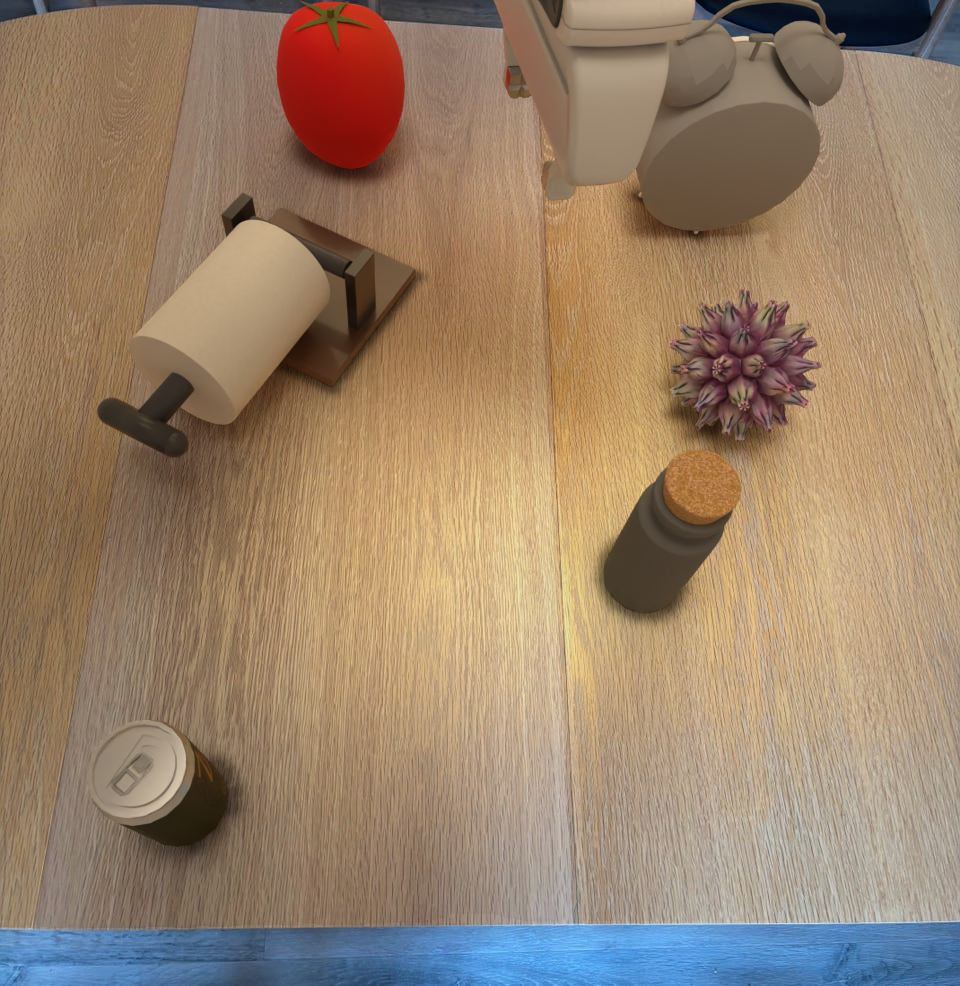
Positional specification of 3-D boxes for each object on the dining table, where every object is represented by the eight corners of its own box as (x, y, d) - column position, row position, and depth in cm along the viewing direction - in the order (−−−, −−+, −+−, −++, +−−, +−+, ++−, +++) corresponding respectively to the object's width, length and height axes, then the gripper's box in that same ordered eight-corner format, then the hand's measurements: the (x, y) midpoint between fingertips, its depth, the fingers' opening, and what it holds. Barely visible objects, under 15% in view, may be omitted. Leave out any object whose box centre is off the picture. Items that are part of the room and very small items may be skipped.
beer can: (187, 867, 53) (135, 846, 42) (124, 812, 54) (58, 779, 44) (247, 793, 55) (213, 756, 45) (186, 742, 56) (138, 694, 46)
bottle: (669, 624, 63) (742, 538, 50) (594, 597, 64) (646, 506, 51) (685, 556, 66) (758, 458, 53) (613, 531, 67) (667, 428, 53)
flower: (787, 461, 73) (670, 474, 68) (733, 346, 78) (621, 351, 73) (880, 384, 63) (752, 393, 59) (813, 258, 68) (689, 258, 64)
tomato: (262, 124, 84) (240, -19, 72) (364, 90, 88) (359, -51, 76) (323, 207, 80) (311, 70, 68) (428, 168, 84) (434, 31, 71)
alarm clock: (758, 182, 87) (862, -38, 68) (782, 246, 83) (900, 31, 64) (600, 184, 85) (661, -42, 65) (617, 250, 81) (688, 29, 61)
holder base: (282, 215, 79) (272, 148, 72) (415, 276, 77) (417, 213, 70) (189, 318, 73) (169, 254, 66) (332, 387, 71) (325, 329, 64)
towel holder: (264, 257, 75) (248, 175, 67) (355, 300, 73) (350, 221, 65) (99, 443, 65) (58, 372, 57) (201, 496, 63) (174, 431, 55)
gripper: (472, -198, 47) (452, 39, 59) (579, 38, 38) (529, 261, 50) (581, -197, 48) (540, 35, 60) (710, 31, 39) (630, 251, 51)
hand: (536, 139), depth 55 cm, fingers open, 8 cm apart
